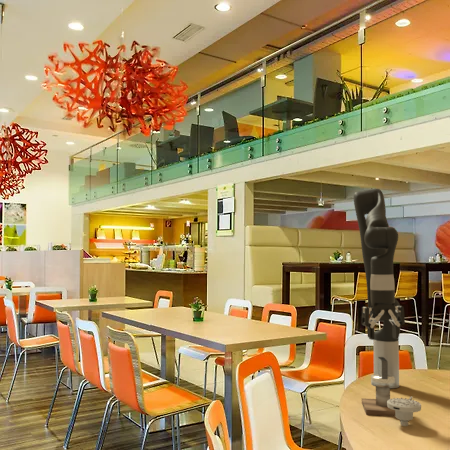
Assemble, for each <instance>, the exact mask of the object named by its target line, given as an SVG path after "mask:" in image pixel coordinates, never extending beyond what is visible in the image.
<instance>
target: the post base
mask: <svg viewBox="0 0 450 450" xmlns="http://www.w3.org/2000/svg"><path fill="white" fill-rule="evenodd" d="M390 399H391V388H382V387H376V386H375V398H361V404H362V408H363V410H364V412H365V415H366V416H383V417H396V416H395V410H392V409H390V408H388V407H387V401H388V400H390Z"/></svg>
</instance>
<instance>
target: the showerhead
mask: <svg viewBox="0 0 450 450" xmlns="http://www.w3.org/2000/svg"><path fill="white" fill-rule="evenodd" d="M387 407H388V408H390V409H392V410H395V416H394V417H395V418H396V419H397V420H399V421H400V422H399V423H400V425H401V426H403V427H408V426H409V421H412V420H413V419H414V413H418V412H420V411H421V410H422V403H420V402H419V401H417V400H415V399H413V396H409V398H406V397H405V398H403V397H400V398H398V397H396V398H395V397H394V398H390V400H388V401H387Z"/></svg>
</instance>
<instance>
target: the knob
mask: <svg viewBox="0 0 450 450" xmlns="http://www.w3.org/2000/svg"><path fill="white" fill-rule="evenodd" d="M370 384H371V385H372V386H373V387H375V388H376V387H382V388H390V389H392V388H391V387H394V386H395V378H394V376H391V375H388V361H387V360H386V359H385V358H384V357H378V374H374V373H373V374H371V375H370Z"/></svg>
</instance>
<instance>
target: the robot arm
mask: <svg viewBox="0 0 450 450" xmlns="http://www.w3.org/2000/svg"><path fill="white" fill-rule="evenodd" d="M353 205H354V210H355V215H356V220H357V225H358V231H359V235H360V236H359V237H360V243H361V253H362V259H363V265H364V271H365V272H364V273H365V279H366V281H365V282H366V292H367V296H366V297H367V306H362V307H361V325H362V326H365V327H366V328H367V329H366V330H367V338H368V339H369V340H370V341H373V374H378V357H384V358H385V359H386V360H387V361H388V375H391V376H394V378H395V386H394V387H391V388H390V389H396V388H397V389H398V388H400V354H399V353H400V352H399V351H400V348H399V347H400V346H399V342H400V341H399V337H400V334H401V333H400V332H401V326H402V325H405V324H406V321H405V319H406V317H405V307H404V306H402V305H401V304H400V302H399V301H398V300H397V299H396V297H395V296H396V295H395V294H396V293H395V291H396V290H395V289H396V287H395V278H394V259H395V258H394V257H395V252H396V249H397V245H398V243H399V242H398V241H399V233H398V231H397V229H396V228H395V227H392V226H390V225H389V221H388V219H387V216H386V215H387V214H386V201H385V196H384V193H383V191H382V190H381V189H380V188H372V189H365V190H359V191H356V192H354V194H353ZM378 322H383V325H382V328H381V329H379V330H376V331H375V325H376V324H377V323H378Z"/></svg>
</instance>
